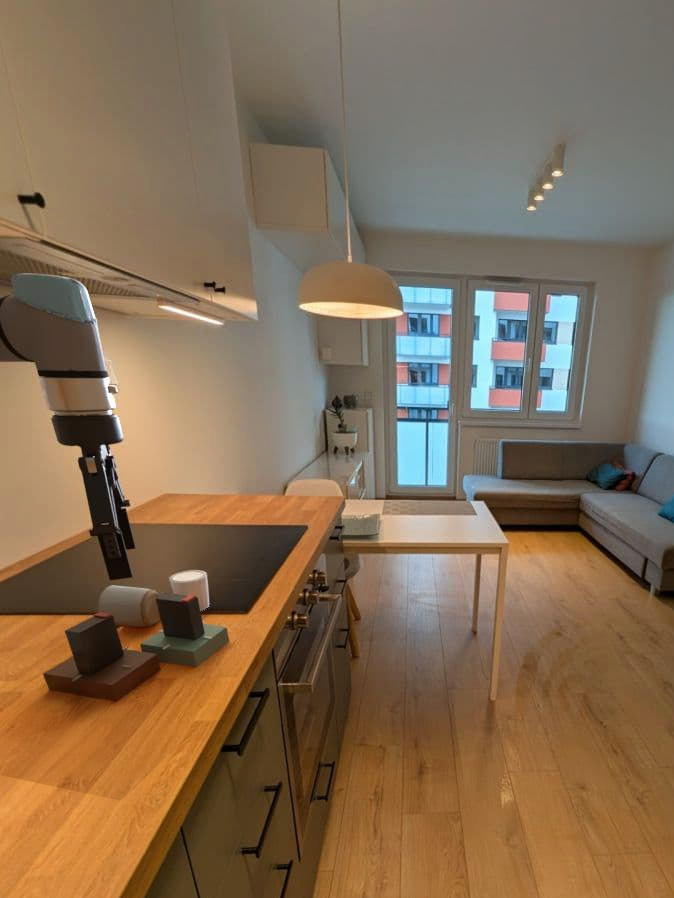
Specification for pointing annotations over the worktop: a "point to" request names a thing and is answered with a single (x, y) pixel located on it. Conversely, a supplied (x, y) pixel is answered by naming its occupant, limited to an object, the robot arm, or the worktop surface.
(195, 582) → the white cylinder
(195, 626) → the dark upright block
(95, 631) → the red-tabbed dark slab
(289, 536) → the worktop surface
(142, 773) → the worktop surface
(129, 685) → the dark brown base plate
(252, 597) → the worktop surface
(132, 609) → the grey lying cylinder
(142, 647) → the green square base
